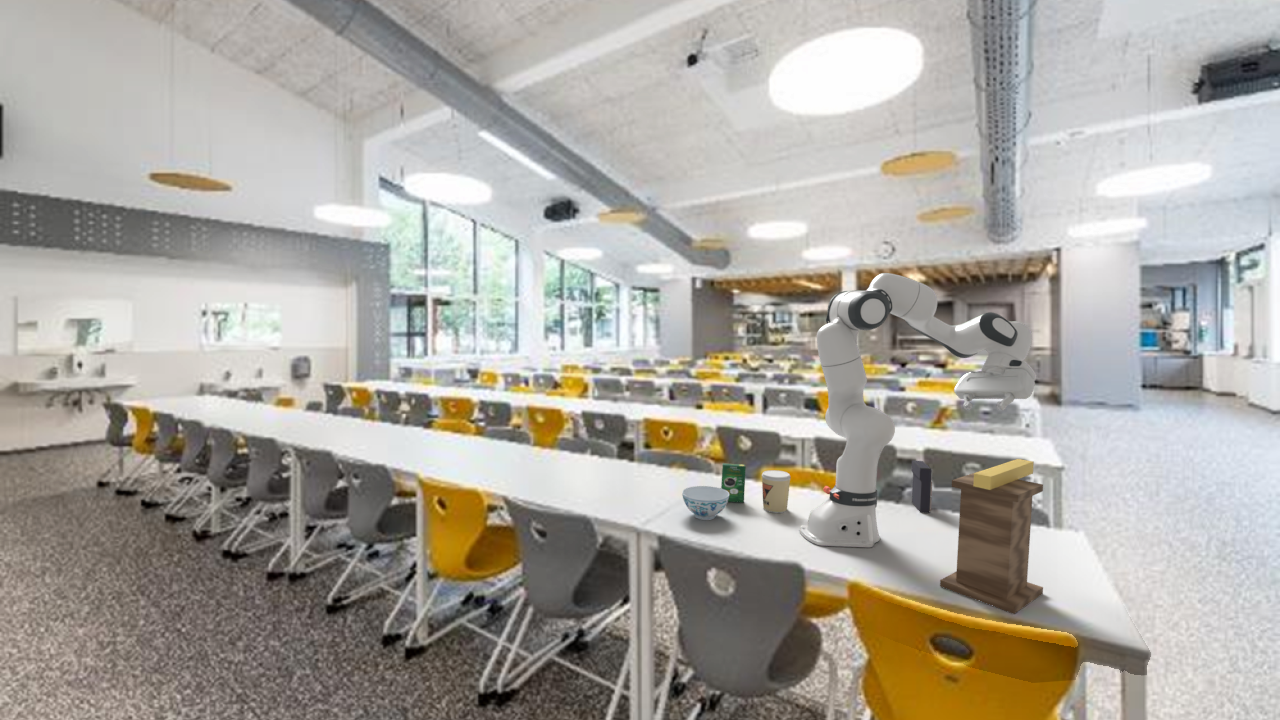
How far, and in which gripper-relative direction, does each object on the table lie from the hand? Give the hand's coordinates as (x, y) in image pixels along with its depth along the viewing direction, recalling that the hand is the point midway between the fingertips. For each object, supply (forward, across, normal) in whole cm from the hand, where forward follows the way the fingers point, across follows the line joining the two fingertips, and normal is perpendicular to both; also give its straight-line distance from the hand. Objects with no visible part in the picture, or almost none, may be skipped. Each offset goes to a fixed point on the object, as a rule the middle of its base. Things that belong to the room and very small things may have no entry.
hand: (982, 408), depth 161 cm
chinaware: (+60, -59, -18) cm, 86 cm away
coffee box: (+48, -68, -7) cm, 83 cm away
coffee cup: (+44, -55, 0) cm, 70 cm away
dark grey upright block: (+15, -34, +36) cm, 52 cm away
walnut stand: (+45, +13, +12) cm, 49 cm away
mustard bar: (+24, +15, -3) cm, 28 cm away
